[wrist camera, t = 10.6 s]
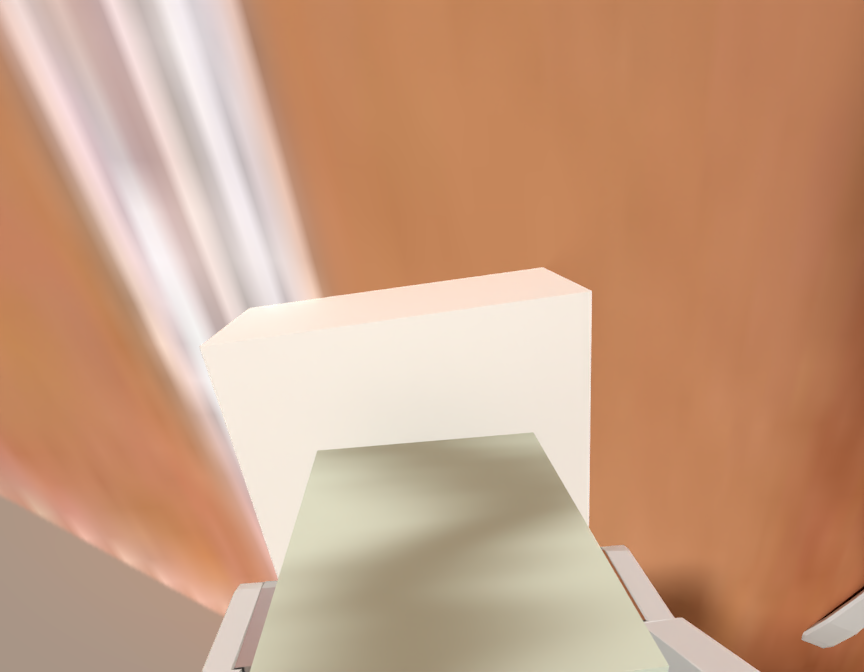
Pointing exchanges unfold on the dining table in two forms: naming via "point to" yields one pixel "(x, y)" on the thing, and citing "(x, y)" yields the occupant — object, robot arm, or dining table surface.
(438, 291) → the painted block
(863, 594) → the fork
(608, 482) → the dining table surface
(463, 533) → the sage cube
